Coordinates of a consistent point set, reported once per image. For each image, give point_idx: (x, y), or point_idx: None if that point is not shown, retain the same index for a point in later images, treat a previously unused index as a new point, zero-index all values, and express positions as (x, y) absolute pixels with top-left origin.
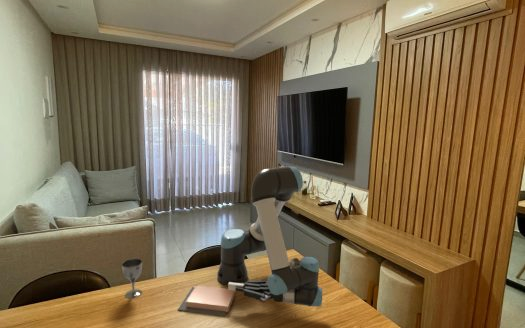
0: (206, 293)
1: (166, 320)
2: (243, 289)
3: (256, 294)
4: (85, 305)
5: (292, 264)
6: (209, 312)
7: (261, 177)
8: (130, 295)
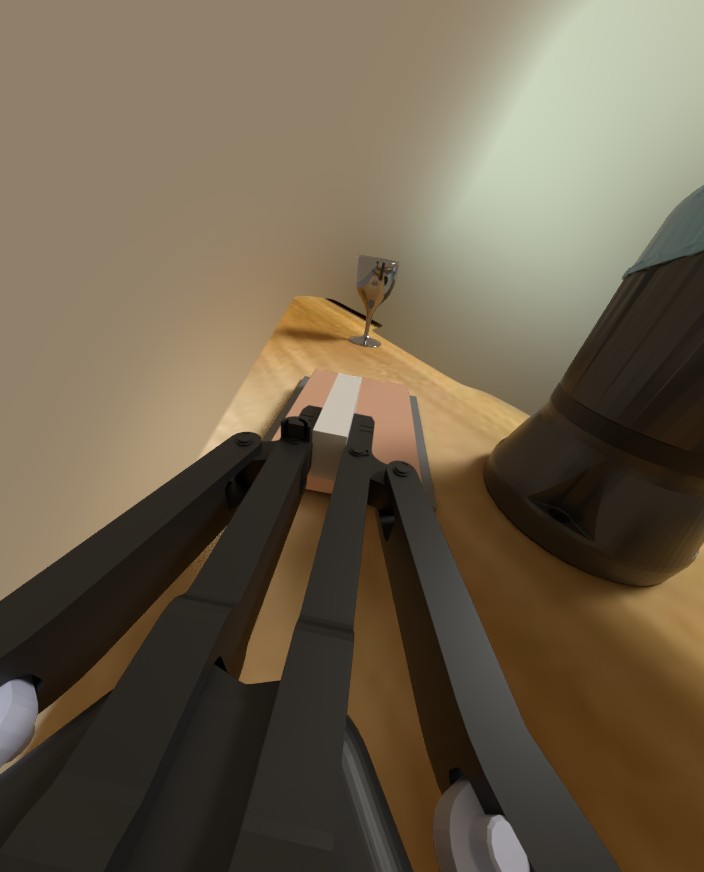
0: (364, 402)
1: (265, 367)
2: (273, 441)
3: (79, 554)
4: (327, 317)
5: None
6: (275, 428)
7: None
8: (356, 337)
